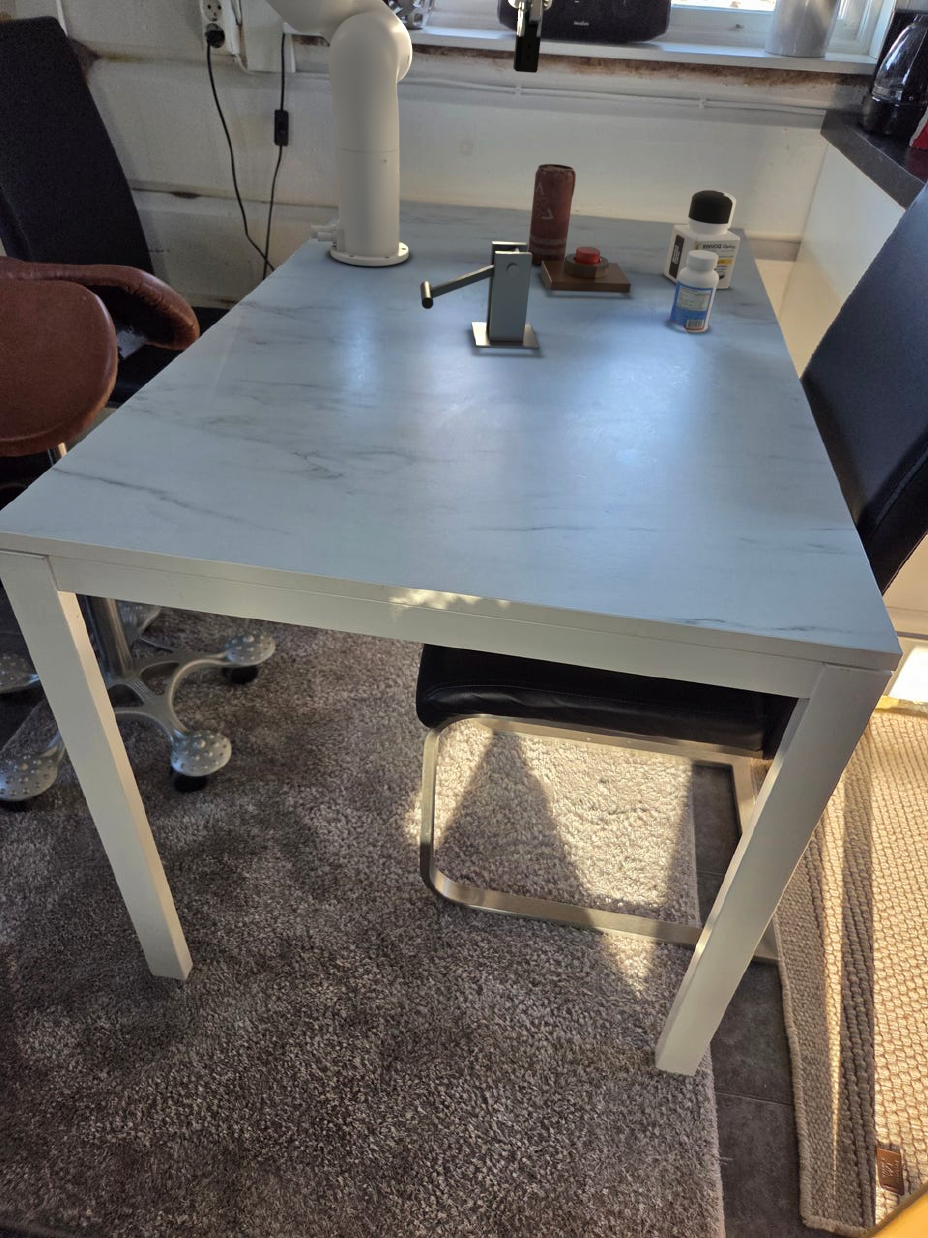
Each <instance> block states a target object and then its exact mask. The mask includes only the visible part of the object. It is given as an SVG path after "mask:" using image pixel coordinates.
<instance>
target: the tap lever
mask: <svg viewBox="0 0 928 1238" xmlns="http://www.w3.org/2000/svg"><path fill="white" fill-rule="evenodd" d="M506 252H519V249H518V247H517V248H514V249H511V250H509V251H506ZM493 275H494V264H492V265H488V266H485V267H482V268H480V269H476V270H473V271H471V272H469V273H466V274H463V275H461V276H458V277H455V278H453V279H450V280H447V281H444V282H442V283H440V284H437V285H434V286H432V284H431V282H429V281H427V280H426V281H422V282H421V284H420V287H419V288H420V289H419V290H420V301H421V306H422V308H424V309H426V310H430V309H432V308H433V306H434V299H435V298H437V297H441V296H443V295H445V294H449V293H451V292H453V291H456V290H459V289H462V288H464V287H467V286H470V285H472V284H475V283H478V282H481V281H483V280H485V279H489V277H491V276H493Z"/></svg>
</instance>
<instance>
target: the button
mask: <svg viewBox="0 0 928 1238" xmlns="http://www.w3.org/2000/svg"><path fill="white" fill-rule="evenodd" d="M575 253H576V257H575V261H577V262H580V263H585V264H596V263H599V258H600V256H601V250H600V249H599V248H596V247H592V246H579V247H576V251H575Z"/></svg>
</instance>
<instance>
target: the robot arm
mask: <svg viewBox="0 0 928 1238" xmlns="http://www.w3.org/2000/svg"><path fill="white" fill-rule="evenodd" d="M264 1H265V2H266V3H267V4H268V5H269V6H270V7H271V8H272V9H273V10H274V11H275V12H276V13H277V14H278V15H279V17H280V18H281V19H282V20H283V21H284V22H285V23H286V24H287V25H288V26H290V28H291V29H293V30H295V31H297V32H298V33H301V34H307V35H312V34H313V35H314V34H317V33H319V34H320V36H322V38H323V39H324V40H326V42H327V43H328V44H329V48H328V54H327V57H328V58H327V63H328V64H327V65H328V67H327V68H328V76H329V77H328V78H329V84H330V91H331V97H332V105H333V107H332V108H333V119H334V138H335V139H334V140H335V141H334V142H335V157H336V160H335V161H336V182H337V183H336V184H337V206H338V207H337V208H338V211H337V212H338V219H337V221H336V224H332V223H331V224H330V226H323V225H310V236H311V237H310V238H311V239H312V240H313V239H314V240H315V239H316V240H317V242H323V243H325V242H326V243H327V242H332V243H331V244H330V247H329V251H330V252H329V253H330V255H331V257H332V258H334V259H335V260H336V261H339V262H342V263H345V264H349V265H353V266H359V267H361V266H362V267H385V266H386V267H387V266H393V265H396V264H397V265H398V264H400V263H403V262H405V261H406V260H407V259H408V258H409V256H410V250H409V247H408V245H406V244H405V243H403V242H401V241H400V163H401V161H400V153H401V152H400V112H399V99H398V83H399V82H400V81H402V79H404V77H405V76H406V75H407V73H408V72H409V70H410V66H411V63H412V59H413V46H412V41H411V37H410V34H409V32H408V29H407V28H406V26H405V25H404V23H403V21H402V20H401V19H400V18H399V17H398V15H396V13H395V12H394V11H393V10H392V9H391V8H390V7H389V6H388V5H387V4H386V3H385V2H384V0H264ZM507 1H508V3H509V5H510V6H512V7H513V8H515V9H518V18H517V19H518V21H517V34H516V35H515V43H514V44H515V45H514V56H513V67H512V68H513V70H514V71H515V72H518V73H530V74H531V73H532V74H533V73H534V74H535V73H538V70H539V69H538V68H539V59H540V52H541V51H540V49H541V41H542V40H541V39H542V37H541V33H542V25H543V17H544V16H543V15H544V11H548V10H549V9H550V8H551V7H552V4H553V3H552V2H553V0H507Z"/></svg>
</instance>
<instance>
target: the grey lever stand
mask: <svg viewBox="0 0 928 1238" xmlns="http://www.w3.org/2000/svg"><path fill="white" fill-rule="evenodd" d="M528 245H529V243H527V242H514V241H513V242H512V241H492V242H491V252H490V265H492V264H494V275H493V276H491V277H489V278H488V279H489V280H488V290H487V291H488V293H487V307H486V320H485V321H486V322H471V331H472V334H473V340H474V344H475V348H476V349H509V350H511V349H512V350H539V349H540V346H539V343H538V341H537V337H536V335H535V331H534V329H533V327H532V324H531V323H527V321H526V320H527V313H528V304H529V303H528V302H529V292H530V282H531V281H530V280H531V273H532V265H533V263H532V253H530V252H528ZM517 247H518V249H519V252H506V251H509V250H511V249H514V248H517ZM490 265H489V266H490Z"/></svg>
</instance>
